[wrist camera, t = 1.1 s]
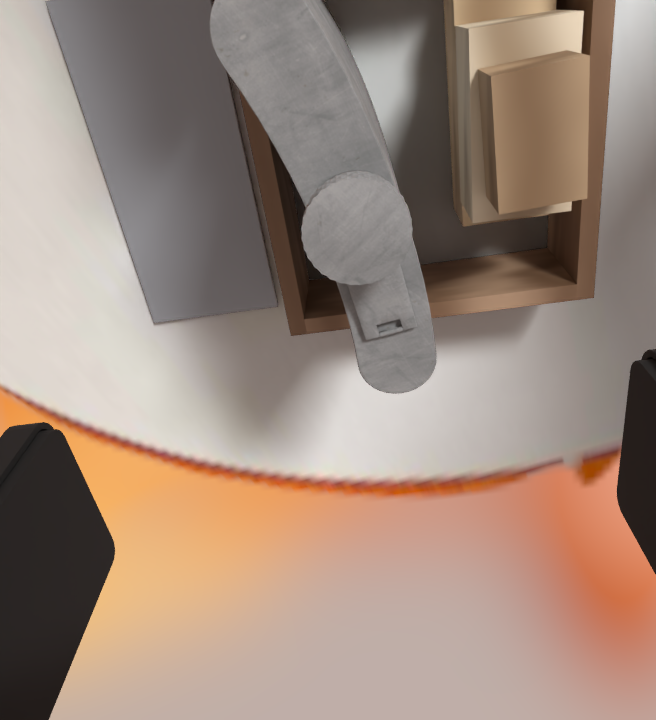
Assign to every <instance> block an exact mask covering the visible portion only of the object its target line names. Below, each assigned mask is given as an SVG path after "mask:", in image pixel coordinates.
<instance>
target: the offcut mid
mask: <svg viewBox="0 0 656 720" xmlns="http://www.w3.org/2000/svg"><path fill="white" fill-rule="evenodd" d="M583 17H584V11H577V10H551V11H545V12H539V13H532V14H526V15H520V16H513V17H507V18H501V19H494V20H488V21H481V22H475V23H469V24H462V25H456V26H455V35H456V68H457V102H458V135H459V168H460V200H461V203H462V205H463V207H464V208H465V210H466V212H467V214H468V216H469V217H470V219H471V221H472V223H479V222H487V221H495V220H503V219H510V218H518V217H526V216H534V215H542V214H550V213H558V212H566V211H571V206H572V201H571V202H566V203H560V204H555V205H549V206H544V207H538V208H533V209H527V210H522V211H516V212H511V213H505V214H500V215H499V214H498V213H497V211H496V210H495V208H494V207H493V206H492V204H491V203H490V201H489V200H488V198H487V197H486V186H485V171H484V156H483V141H482V127H481V112H480V97H479V82H478V69H480V68H485V67H490V66H494V65H499V64H504V63H509V62H513V61H518V60H523V59H527V58H532V57H537V56H542V55H546V54H551V53H556V52H561V51H565V50H569V51H573V52H577V53H581V49H582V33H583Z"/></svg>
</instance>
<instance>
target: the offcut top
mask: <svg viewBox="0 0 656 720" xmlns="http://www.w3.org/2000/svg"><path fill="white" fill-rule="evenodd" d="M589 77H590V55H586V54H582V53H577V52H573V51H569V50H565V51H561V52H556V53H551V54H546V55H542V56H537V57H532V58H527V59H523V60H518V61H513V62H509V63H504V64H499V65H494V66H490V67H485V68H480V69H478V82H479V97H480V112H481V127H482V141H483V156H484V171H485V186H486V197H487V198H488V200H489V201H490V203H491V204H492V206H493V207H494V208H495V210H496V211H497V213H498V214H499V215H500V214H505V213H511V212H516V211H522V210H527V209H533V208H538V207H544V206H549V205H555V204H560V203H566V202H571V201H577V200H582V199H587V187H588V132H589Z"/></svg>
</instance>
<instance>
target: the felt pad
mask: <svg viewBox="0 0 656 720" xmlns="http://www.w3.org/2000/svg"><path fill="white" fill-rule="evenodd" d="M46 4H47V7H48V10H49V13H50V16H51V19H52V22H53V25H54V28H55V31H56V34H57V37H58V40H59V43H60V46H61V49H62V52H63V55H64V58H65V60H66V63H67V66H68V69H69V72H70V75H71V78H72V81H73V84H74V87H75V90H76V93H77V96H78V99H79V102H80V105H81V108H82V111H83V114H84V117H85V120H86V123H87V126H88V129H89V132H90V134H91V137H92V140H93V143H94V146H95V149H96V152H97V155H98V158H99V161H100V164H101V167H102V170H103V173H104V176H105V179H106V182H107V185H108V188H109V191H110V194H111V197H112V200H113V203H114V206H115V208H116V211H117V214H118V217H119V220H120V223H121V226H122V229H123V232H124V235H125V238H126V241H127V244H128V247H129V250H130V253H131V256H132V259H133V262H134V265H135V268H136V271H137V274H138V277H139V280H140V282H141V285H142V288H143V291H144V294H145V297H146V300H147V303H148V306H149V309H150V312H151V315H152V318H153V321H154V323H157V322H165V321H172V320H180V319H188V318H195V317H203V316H210V315H218V314H226V313H233V312H241V311H248V310H256V309H264V308H271V307H278V302H277V297H276V292H275V288H274V283H273V279H272V274H271V269H270V265H269V260H268V256H267V251H266V246H265V242H264V237H263V233H262V228H261V224H260V219H259V214H258V210H257V205H256V201H255V196H254V191H253V187H252V182H251V178H250V173H249V168H248V164H247V159H246V155H245V150H244V145H243V141H242V136H241V132H240V127H239V122H238V118H237V113H236V109H235V104H234V99H233V95H232V90H231V86H230V81H229V77H228V73H227V71H226V70H225V69H224V67H223V66H222V64H221V62H220V61H219V59H218V57H217V56H216V54H215V51H214V48H213V46H212V42H211V37H210V24H209V21H210V15H211V9H212V6H213V3H212V0H50V1H46Z"/></svg>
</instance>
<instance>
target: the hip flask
mask: <svg viewBox="0 0 656 720" xmlns="http://www.w3.org/2000/svg"><path fill="white" fill-rule="evenodd" d="M209 24H210V37H211V42H212V46H213V48H214V51H215V54H216V56H217V57H218V59H219V61H220V62H221V64H222V66H223V67H224V69H225V70H226V71H227V73H228V74H229V76H230V77H231V79H232V80H233V81H234V83H235V84H236V86H237V87H238V89H239V90H240V91H241V93H242V95H243V96H244V98H245V99H246V101H247V102H248V104H249V105H250V107H251V108H252V110H253V112H254V113H255V115H256V116H257V118H258V119H259V121H260V123H261V124H262V126H263V128H264V130H265V131H266V133H267V135H268V136H269V138H270V140H271V142H272V143H273V145H274V147H275V149H276V150H277V152H278V154H279V156H280V158H281V160H282V161H283V163H284V165H285V167H286V169H287V171H288V173H289V174H290V176H291V178H292V180H293V182H294V185H295V187H296V189H297V191H298V193H299V195H300V197H301V199H302V201H303V203H304V205H305V208H306V210H305V212H304V215H303V220H302V227H301V232H302V237H301V239H302V242H303V244H304V250H305V252H306V253H307V257H308V259H309V260H310V261H311V262H312V264H313V266H314V267H315V268H316V269H318V270H319V271H320V273H321V274H323V275H325V276H327V277H328V278H329V279H331V280H335V281H336V283H337V286H338V289H339V292H340V295H341V298H342V301H343V304H344V307H345V311H346V314H347V318H348V321H349V324H350V329H351V333H352V337H353V342H354V346H355V351H356V356H357V362H358V367H359V370H360V373H361V375H362V377H363V378H364V380H365V381H366V382H367V383H368V384H369V385H371V386H372V387H373V388H375V389H377V390H379V391H383V392H386V393H404V392H409V391H412V390H414V389H416V388H418V387H420V386H421V385H423V384H424V383H425V382H426V381H427V380H428V379H429V378H430V376H431V375H432V373H433V371H434V369H435V365H436V348H435V340H434V332H433V325H432V319H431V313H430V306H429V302H428V297H427V292H426V288H425V283H424V279H423V275H422V271H421V267H420V263H419V259H418V255H417V251H416V248H415V244H414V241H413V237H412V232H413V227H412V218H411V216H410V211H409V209H408V205H407V203H406V202H405V200H404V197H403V196H402V195H401V194H400V191H399V188H398V184H397V181H396V177H395V174H394V170H393V167H392V163H391V160H390V156H389V153H388V149H387V146H386V143H385V139H384V136H383V133H382V130H381V127H380V124H379V121H378V118H377V115H376V112H375V109H374V107H373V104H372V101H371V98H370V96H369V93H368V91H367V88H366V86H365V83H364V81H363V78H362V76H361V74H360V71H359V69H358V67H357V65H356V62H355V60H354V58H353V56H352V54H351V52H350V50H349V47H348V45H347V43H346V41H345V39H344V37H343V35H342V34H341V32H340V30H339V28H338V26H337V24H336V22H335V21H334V19H333V17H332V15H331V14H330V12H329V10H328V8H327V7H326V5H325V3H324V2H323V0H215V1H214V4H213V6H212V9H211V15H210V21H209Z"/></svg>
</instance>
